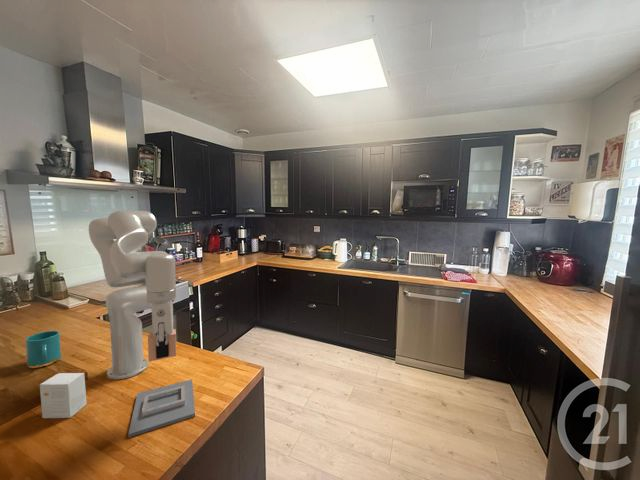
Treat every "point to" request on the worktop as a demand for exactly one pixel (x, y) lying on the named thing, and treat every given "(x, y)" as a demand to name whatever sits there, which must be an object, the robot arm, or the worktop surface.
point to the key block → (153, 342)
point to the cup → (43, 348)
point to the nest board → (162, 407)
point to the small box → (63, 395)
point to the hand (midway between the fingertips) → (163, 352)
